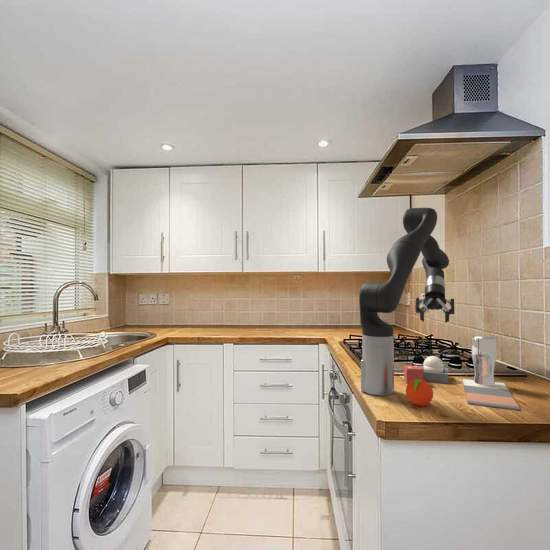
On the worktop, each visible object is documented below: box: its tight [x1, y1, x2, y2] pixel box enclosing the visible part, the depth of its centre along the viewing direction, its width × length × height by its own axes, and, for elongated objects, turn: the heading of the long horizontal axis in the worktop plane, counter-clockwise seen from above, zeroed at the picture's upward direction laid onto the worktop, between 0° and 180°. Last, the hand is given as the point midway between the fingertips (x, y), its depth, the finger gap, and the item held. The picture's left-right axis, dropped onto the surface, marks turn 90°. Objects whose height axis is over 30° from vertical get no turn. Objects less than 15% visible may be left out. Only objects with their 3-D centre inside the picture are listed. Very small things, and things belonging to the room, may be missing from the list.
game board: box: [462, 377, 521, 411], centre depth 106 cm, size 12×28×1 cm, turn 155°
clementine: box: [405, 379, 434, 407], centre depth 95 cm, size 8×7×7 cm
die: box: [403, 364, 423, 385], centre depth 117 cm, size 5×5×5 cm
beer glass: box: [471, 335, 498, 387], centre depth 114 cm, size 7×7×15 cm
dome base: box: [419, 365, 449, 384], centre depth 122 cm, size 9×9×3 cm
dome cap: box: [422, 355, 445, 373], centre depth 122 cm, size 6×6×6 cm
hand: (434, 320), depth 133 cm, fingers open, 7 cm apart
